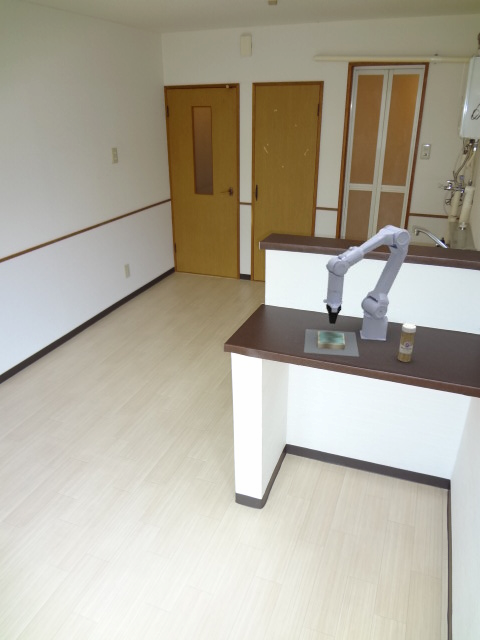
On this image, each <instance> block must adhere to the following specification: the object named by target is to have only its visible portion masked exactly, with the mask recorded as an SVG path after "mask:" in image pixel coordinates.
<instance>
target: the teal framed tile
mask: <svg viewBox="0 0 480 640" xmlns="http://www.w3.org/2000/svg"><path fill="white" fill-rule="evenodd" d="M318 348H327V349H341V350H345V340H344V333H335V332H320V331H318Z"/></svg>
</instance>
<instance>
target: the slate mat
mask: <svg viewBox="0 0 480 640" xmlns="http://www.w3.org/2000/svg"><path fill="white" fill-rule="evenodd" d="M318 331H320V332H335V333H344V340H345V350H341V349H327V348H318ZM303 348H304V349H303V353H306V354H316V355H317V354H319V355H321V354H322V355H333V356H334V355H335V356H345V357H346V356H347V357H357V358H358V357H360V354H359V349H358V348H359V347H358V342H357V336H356V332H355V331H341V330H327V329H312V328H311V329H310V328H306V329H305V335H304V347H303Z"/></svg>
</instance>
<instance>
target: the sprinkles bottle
mask: <svg viewBox="0 0 480 640" xmlns="http://www.w3.org/2000/svg"><path fill="white" fill-rule="evenodd" d="M416 330H417V326H416V325H415V324H413V323H403V324H402V327H401V336H400V341H399V348H398V356H397V360H398V361H400V362H403V363H410V362H411V358H412V352H413V347H414V340H415V335H416V334H415V333H416Z"/></svg>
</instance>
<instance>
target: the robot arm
mask: <svg viewBox="0 0 480 640" xmlns="http://www.w3.org/2000/svg"><path fill="white" fill-rule="evenodd" d="M411 241H412V237H411V234H410V233H409V231H408V229H405V228H399V227H397V226H394V225H393V224H388V225H386V226H384V227H383V228H381V229H380V230H378V233H376V234H374V236H372V237H371V238H369V239H368V240H366V241H365V242H363V244H361V245H360V246H350V247H349V248H348V249H347V250H346V251H344V252H343V253H340V254H339V255H337V256H334V257H331V258H330V259H329V260H328V262H327V264H325V267H326V270H327V272H328V276H327V277H328V279H327V288H326V289H327V290H326V291H327V292H326V298H325V299H323V301H322V302H323V303H325V307H326V308H325V309H326V312H327V313H328V321H329V322H328V323H329V324H332V325H335V324H336V322H337V319H338V317H339V314H340V312H341V311H342V304H343V293H344V283H345V282H344V280H345V275H346V274H347V273H348V271H349V269H350V268H351V267H353V266H354V265H355V264H357V263H359V262H361V261H362V260H363V259H364V256H365V255H366V254H368V253H370V252H371V251H373V250H375V249H377V248H378V247H380V246H382V245H384V246H387V247H388V248H389V251H390V254H389V257H388V259H387V261H386V263H385V265H384V267H383V270H382V272H381V274H380V276H379V278H378V280H377V282H376V284H375V286H374V289H373V290H371V291H369V292H368V293H367V294H366V296H365V297H364V298H363V299H362V301H361V304H360V307H361V309H362V311H363V312H362V313H363V319H362V325H361V329H360V330H359V333H360V334H359V335H360V339H362V340H374V341H382V342H383V341H387V333H388V325H389V324H388V323H389V320H388V319H389V318H388V316H386V314H387V313H388V307H389V304H390V301H389V300H390V299H389V298H388V295H389V293H390V290H391V289H392V287H393V285H394V282H395V281H396V278H397V276H398V274H399V272H400V270H401V267H402V266H403V263H404V261H405V259H406V257H407V254H408V253H409V252H408V251H409V244H410V243H411Z"/></svg>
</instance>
